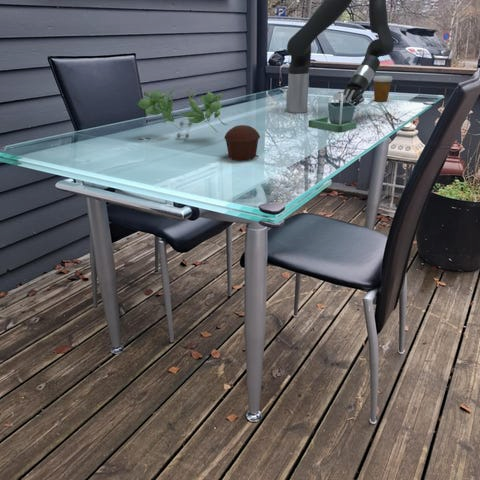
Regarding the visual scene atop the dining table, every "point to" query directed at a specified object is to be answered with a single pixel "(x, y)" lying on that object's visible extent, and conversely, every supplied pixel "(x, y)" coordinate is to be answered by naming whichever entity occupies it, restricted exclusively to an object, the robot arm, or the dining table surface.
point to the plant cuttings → (167, 107)
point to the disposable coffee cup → (381, 88)
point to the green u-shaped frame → (323, 123)
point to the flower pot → (335, 112)
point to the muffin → (242, 142)
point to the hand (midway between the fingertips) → (340, 113)
